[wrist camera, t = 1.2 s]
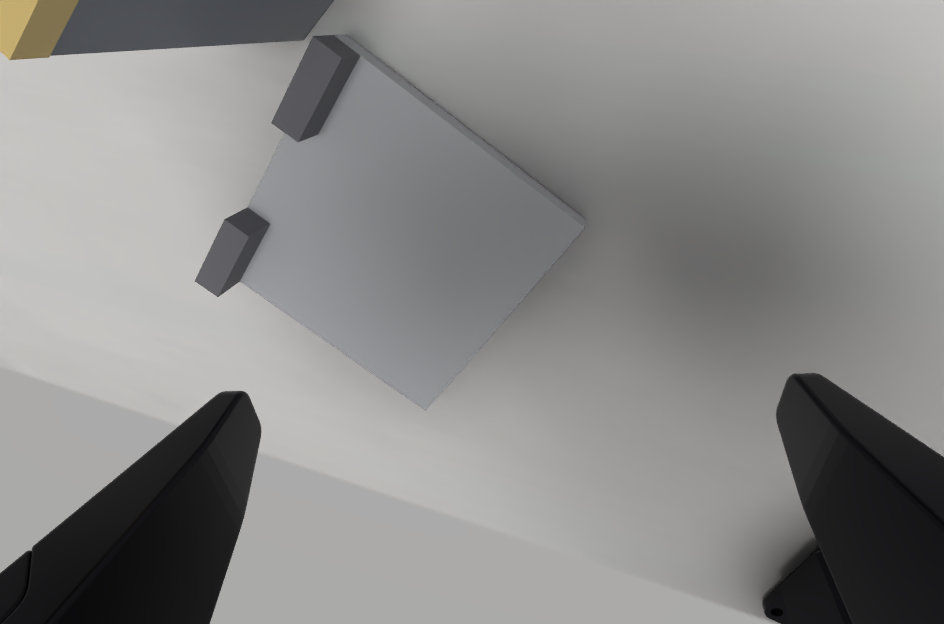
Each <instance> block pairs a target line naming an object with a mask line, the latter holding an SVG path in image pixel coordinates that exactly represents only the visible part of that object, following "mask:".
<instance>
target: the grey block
mask: <svg viewBox="0 0 944 624" xmlns="http://www.w3.org/2000/svg"><path fill="white" fill-rule="evenodd" d="M332 2H333V0H0V51H1V52H2V53H3V54H4V55H5V56H6V57H7V58H8V59H9V60H16V59H32V58H47V57H50V56H51V55H68V54H84V53H101V52H117V51H134V50H150V49H167V48H183V47H200V46H216V45H233V44H249V43H266V42H282V41H299V40H304V39H305V37H306V36H307V35H308V33H309V32H310V31H311V29H312V28H313V27H314V25H315V24H316V23H317V21H318V20H319V19H320V18H321V16H322V15H323V14H324V12H325V11H326V10H327V8H328V7H329V6H330V4H331V3H332Z"/></svg>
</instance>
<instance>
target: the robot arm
mask: <svg viewBox="0 0 944 624" xmlns="http://www.w3.org/2000/svg"><path fill="white" fill-rule="evenodd" d="M776 419H777V424H778V427H779V431H780V434H781V437H782V441H783V444H784V447H785V451H786V454H787V457H788V461H789V464H790V467H791V471H792V474H793V477H794V480H795V484H796V487H797V490H798V494H799V497H800V500H801V503H802V506H803V509H804V511H805V514H806V516H807V519H808V521H809V523H810V526H811V528H812V530H813V533H814V535H815V537H816V540H817V542H818V544H819V547H818V548H817V549H816V550H815V551H814V552H813V553H812V554H811V555H810V556H809V557H808V558H807V559H806V560H805V561H804V562H803V563H802V564H801V565H800V566H799V567H798V568H797V569H796V570H795V571H793V572H792V573H791V574H790V575H789V576H788V577H787V578H786V579H785V580H784V581H783V582H782V583H781V584H780V585H779V586H778V587H777V588H776V589H775V590H774V591H773V592H772V593H771V594H770V595H769V596H768V597H766V598H765V599H764V601H763V602H762V606H763V609H764V613H765V615H766V616H767V617H768V618H770V619H772V620H774V621H777V622H779V623H781V624H944V457H943V456H941V455H940V454H938V453H937V452H935V451H934V450H932V449H931V448H929V447H928V446H927V445H925V444H924V443H922V442H921V441H919V440H918V439H916V438H915V437H913V436H912V435H910V434H909V433H907V432H906V431H904V430H903V429H901V428H900V427H898V426H897V425H895V424H894V423H892V422H891V421H889V420H888V419H886V418H885V417H883V416H882V415H880V414H879V413H877V412H876V411H874V410H873V409H871V408H870V407H868V406H867V405H865V404H864V403H862V402H861V401H859V400H858V399H856V398H855V397H853V396H852V395H850V394H849V393H847V392H846V391H844V390H843V389H841V388H840V387H838V386H837V385H835V384H834V383H832V382H831V381H829V380H828V379H827V378H825V377H823V376H822V375H820V374H816V373H804V374H793V375H791V376H790V377H789V378H788V380H787V382H786V384H785V387H784V390H783V393H782V396H781V398H780V401H779V404H778V407H777V411H776ZM260 438H261V425H260V421H259V419H258V417H257V414H256V412H255V409H254V407H253V405H252V402H251V400H250V397H249V396H248V394H247V393H246V392H244V391H224V392H221V393H219V394H217V395H216V396H215V397H214V398H212V399H211V400H210V401H209V402H207V403H206V404H205V405H204V406H203V407H201V408H200V409H199V410H198V411H197V412H195V413H194V414H193V415H192V416H191V417H189V418H188V419H187V420H186V421H184V422H183V423H182V424H181V425H180V426H178V427H177V428H176V429H175V430H174V431H172V432H171V433H170V434H169V435H167V436H166V437H165V438H164V439H163V440H162V441H160V442H159V443H158V444H157V445H155V446H154V447H153V448H152V449H151V450H149V451H148V452H147V453H146V454H144V455H143V456H142V457H141V458H140V459H138V460H137V461H136V462H135V463H134V464H132V465H131V466H130V467H129V468H127V470H125V471H124V472H123V473H121V474H120V475H119V476H118V477H117V478H115V479H114V480H113V481H112V482H111V483H109V484H108V485H107V486H106V487H104V488H103V489H102V490H101V491H100V492H98V493H97V494H96V495H95V496H94V497H92V498H91V499H90V500H89V501H88V502H86V503H85V504H84V505H83V506H81V508H79V509H78V510H77V511H76V512H74V513H73V514H72V515H71V516H69V517H68V518H67V519H66V520H64V521H63V522H62V523H61V524H60V525H58V526H57V527H56V528H55V529H53V530H52V531H51V532H50V533H49V534H47V535H46V536H45V537H44V538H43V539H41V540H40V541H39V542H38V543H37V544H35V545H34V546H33V548H32V551H27V552H25V553H24V554H23V555H22V556H21V557H19V558H18V559H17V560H16V561H15V562H13V563H12V564H11V565H10V566H8V567H7V568H6V569H5V570H4V571H2V572H1V573H0V624H210V621H211V618H212V615H213V611H214V608H215V605H216V602H217V599H218V596H219V593H220V590H221V587H222V584H223V581H224V578H225V575H226V572H227V569H228V566H229V563H230V559H231V556H232V553H233V550H234V547H235V544H236V541H237V538H238V535H239V532H240V529H241V525H242V522H243V519H244V515H245V510H246V506H247V501H248V496H249V492H250V487H251V482H252V476H253V472H254V467H255V463H256V458H257V453H258V448H259V443H260Z"/></svg>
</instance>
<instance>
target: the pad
mask: <svg viewBox="0 0 944 624" xmlns="http://www.w3.org/2000/svg"><path fill="white" fill-rule="evenodd" d="M271 123H272V124H274V125H275V126H276V127H278V128H279V129H280V130H282V131H283V132H285V134H284V136H283V138H282V140H281V142H280V144H279V146H278V148H277V150H276V152H275V154H274V156H273V158H272V160H271V162H270V164H269V166H268V168H267V170H266V172H265V174H264V176H263V178H262V180H261V182H260V184H259V186H258V188H257V190H256V192H255V194H254V196H253V198H252V200H251V202H250V204H249V206H248V208H246V209H244V210H242V211H240V212H238V213H236V214H234V215H232V216H230V217H228V218H226V219H225V220H224V222H223V224H222V226H221V228H220V230H219V232H218V234H217V236H216V238H215V240H214V242H213V244H212V246H211V249H210V251H209V253H208V255H207V257H206V259H205V261H204V263H203V265H202V267H201V269H200V271H199V273H198V275H197V277H196V280H195V282H197V283H198V284H200V285H201V286H203V287H204V288H206V289H207V290H208V291H210V292H211V293H213V294H214V295H216V296H217V297H219V296H220V295H221V294H223V293H224V292H226V291H227V290H228V289H230V288H231V287H233V286H234V285H235V284H237V283H238V282H242V283H243V284H245V285H246V286H247V287H249V288H250V289H252V290H253V291H255V292H256V293H257V294H259V295H260V296H262V297H263V298H265V299H266V300H267V301H269V302H270V303H272V304H273V305H275V306H276V307H278V308H279V309H280V310H282V311H283V312H285V313H286V314H288V315H289V316H290V317H292V318H293V319H295V320H296V321H298V322H299V323H300V324H302V325H303V326H305V327H306V328H308V329H309V330H310V331H312V332H313V333H315V334H316V335H318V336H319V337H321V338H322V339H323V340H325V341H326V342H328V343H329V344H331V345H332V346H333V347H335V348H336V349H338V350H339V351H341V352H342V353H343V354H345V355H346V356H348V357H349V358H351V359H352V360H353V361H355V362H356V363H358V364H359V365H361V366H362V367H363V368H365V369H366V370H368V371H369V372H371V373H372V374H374V375H375V376H376V377H378V378H379V379H381V380H382V381H384V382H385V383H386V384H388V385H389V386H391V387H392V388H394V389H395V390H396V391H398V392H399V393H401V394H402V395H404V396H405V397H406V398H408V399H409V400H411V401H412V402H414V403H415V404H416V405H418V406H419V407H421V408H422V409H424V410H425V411H426V410H427V409H428V408H429V406H430V405H431V404H432V403H433V402H434V401H435V399H436V398H437V397H438V396H439V395H440V394H441V393H442V391H443V390H444V389H445V388H446V387H447V386H448V385H449V383H450V382H451V381H452V380H453V379H454V378H455V376H456V375H457V374H458V373H459V372H460V371H461V370H462V368H463V367H464V366H465V365H466V364H467V363H468V362H469V360H470V359H471V358H472V357H473V356H474V355H475V353H476V352H477V351H478V350H479V349H480V348H481V347H482V345H483V344H484V343H485V342H486V341H487V340H488V339H489V337H490V336H491V335H492V334H493V333H494V332H495V330H496V329H497V328H498V327H499V326H500V325H501V324H502V322H503V321H504V320H505V319H506V318H507V317H508V316H509V314H510V313H511V312H512V311H513V310H514V309H515V307H516V306H517V305H518V304H519V303H520V302H521V301H522V299H523V298H524V297H525V296H526V295H527V294H528V293H529V291H530V290H531V289H532V288H533V287H534V286H535V284H536V283H537V282H538V281H539V280H540V279H541V278H542V276H543V275H544V274H545V273H546V272H547V271H548V270H549V268H550V267H551V266H552V265H553V264H554V263H555V261H556V260H557V259H558V258H559V257H560V256H561V255H562V253H563V252H564V251H565V250H566V249H567V248H568V247H569V245H570V244H571V243H572V242H573V241H574V240H575V238H576V237H577V236H578V235H579V234H580V233H581V232H582V230H583V229H584V228H585V219H584V218H583V217H582V216H580V215H579V214H578V213H577V212H575V211H574V210H573V209H571V208H570V207H569V206H568V205H566V204H565V203H564V202H562V201H561V200H560V199H558V198H557V197H556V196H555V195H553V194H552V193H551V192H549V191H548V190H547V189H546V188H544V187H543V186H542V185H540V184H539V183H538V182H536V181H535V180H534V179H533V178H531V177H530V176H529V175H527V174H526V173H525V172H524V171H522V170H521V169H520V168H518V167H517V166H516V165H514V164H513V163H512V162H511V161H509V160H508V159H507V158H505V157H504V156H503V155H501V154H500V153H499V152H498V151H496V150H495V149H494V148H492V147H491V146H490V145H489V144H487V143H486V142H485V141H483V140H482V139H481V138H479V137H478V136H477V135H476V134H474V133H473V132H472V131H470V130H469V129H468V128H467V127H465V126H464V125H463V124H461V123H460V122H459V121H457V120H456V119H455V118H454V117H452V116H451V115H450V114H448V113H447V112H446V111H445V110H443V109H442V108H441V107H439V106H438V105H437V104H435V103H434V102H433V101H432V100H430V99H429V98H428V97H426V96H425V95H424V94H423V93H421V92H420V91H419V90H417V89H416V88H415V87H413V86H412V85H411V84H410V83H408V82H407V81H406V80H404V79H403V78H402V77H400V76H399V75H398V74H397V73H395V72H394V71H393V70H391V69H390V68H389V67H388V66H386V65H385V64H384V63H382V62H381V61H380V60H378V59H377V58H376V57H375V56H373V55H372V54H371V53H369V52H368V51H367V50H366V49H364V48H363V47H362V46H360V45H359V44H358V43H356V42H355V41H354V40H353V39H351V38H350V37H349V36H347V35H329V36H313V38H312V40H311V42H310V44H309V46H308V48H307V50H306V52H305V54H304V56H303V58H302V60H301V62H300V65H299V67H298V69H297V71H296V73H295V75H294V77H293V79H292V81H291V83H290V85H289V87H288V89H287V91H286V93H285V96H284V98H283V100H282V102H281V104H280V106H279V108H278V110H277V112H276V114H275V116H274V118H273V120H272V122H271Z"/></svg>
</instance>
